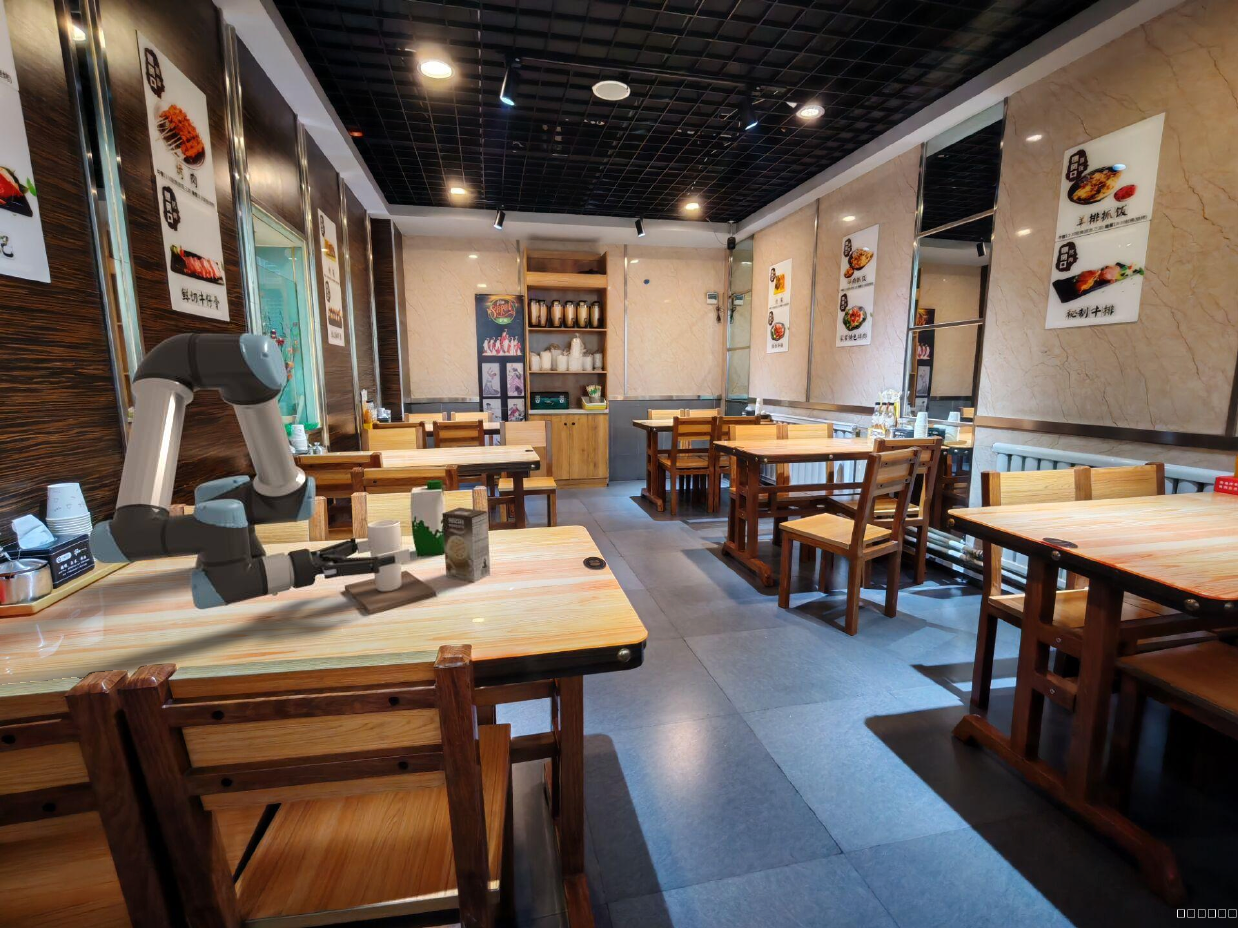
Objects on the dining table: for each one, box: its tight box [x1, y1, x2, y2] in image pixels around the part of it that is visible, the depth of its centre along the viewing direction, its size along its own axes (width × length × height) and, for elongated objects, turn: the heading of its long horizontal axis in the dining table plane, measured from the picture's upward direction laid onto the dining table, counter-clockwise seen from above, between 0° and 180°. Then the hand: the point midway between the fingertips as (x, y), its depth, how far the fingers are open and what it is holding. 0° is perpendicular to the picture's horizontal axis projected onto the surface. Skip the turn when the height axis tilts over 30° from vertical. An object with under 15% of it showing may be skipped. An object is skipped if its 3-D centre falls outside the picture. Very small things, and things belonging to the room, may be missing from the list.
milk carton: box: [409, 479, 447, 558], centre depth 149 cm, size 9×9×20 cm
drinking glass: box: [366, 519, 403, 592], centre depth 120 cm, size 7×7×15 cm
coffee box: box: [442, 507, 491, 583], centre depth 130 cm, size 9×6×16 cm
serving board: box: [344, 570, 437, 615], centre depth 121 cm, size 18×14×1 cm
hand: (397, 547), depth 121 cm, fingers open, 13 cm apart
